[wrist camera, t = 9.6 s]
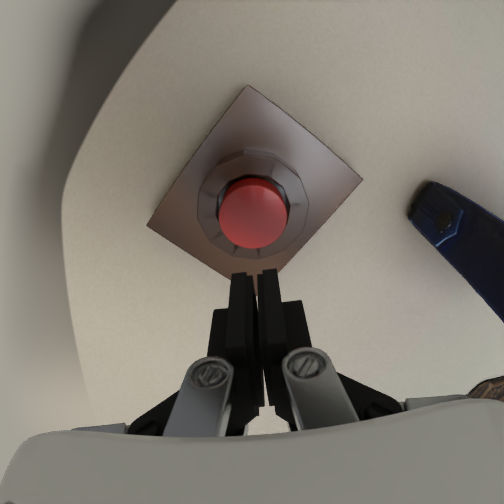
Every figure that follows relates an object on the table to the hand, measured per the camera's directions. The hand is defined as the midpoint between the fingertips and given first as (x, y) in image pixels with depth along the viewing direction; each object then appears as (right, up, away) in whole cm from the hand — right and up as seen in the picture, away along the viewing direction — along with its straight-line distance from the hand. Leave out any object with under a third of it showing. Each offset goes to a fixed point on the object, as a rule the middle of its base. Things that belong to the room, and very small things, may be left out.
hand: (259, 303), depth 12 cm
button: (0, +5, +8) cm, 10 cm away
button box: (0, +6, +12) cm, 13 cm away
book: (+19, +4, +13) cm, 24 cm away
